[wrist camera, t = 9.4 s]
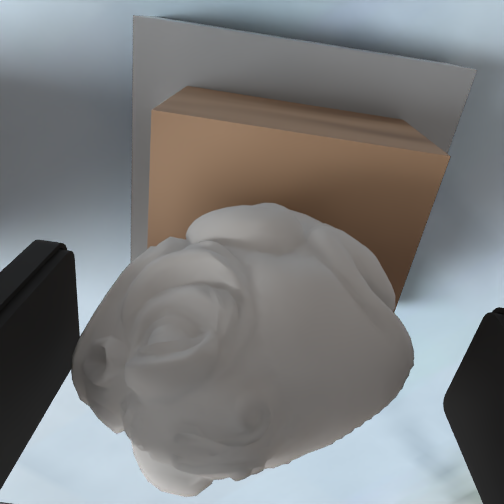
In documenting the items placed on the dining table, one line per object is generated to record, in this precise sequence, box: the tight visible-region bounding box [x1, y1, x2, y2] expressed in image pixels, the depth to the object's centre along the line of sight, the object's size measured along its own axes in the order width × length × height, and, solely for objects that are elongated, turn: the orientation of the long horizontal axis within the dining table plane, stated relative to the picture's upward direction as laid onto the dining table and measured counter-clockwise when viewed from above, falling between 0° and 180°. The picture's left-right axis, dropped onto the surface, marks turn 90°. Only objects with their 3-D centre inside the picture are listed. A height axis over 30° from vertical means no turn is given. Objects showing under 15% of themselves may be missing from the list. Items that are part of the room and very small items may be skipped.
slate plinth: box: [131, 15, 477, 262], centre depth 19 cm, size 12×12×3 cm
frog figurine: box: [71, 203, 414, 497], centre depth 10 cm, size 6×7×7 cm
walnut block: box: [147, 86, 450, 312], centre depth 16 cm, size 8×8×5 cm
